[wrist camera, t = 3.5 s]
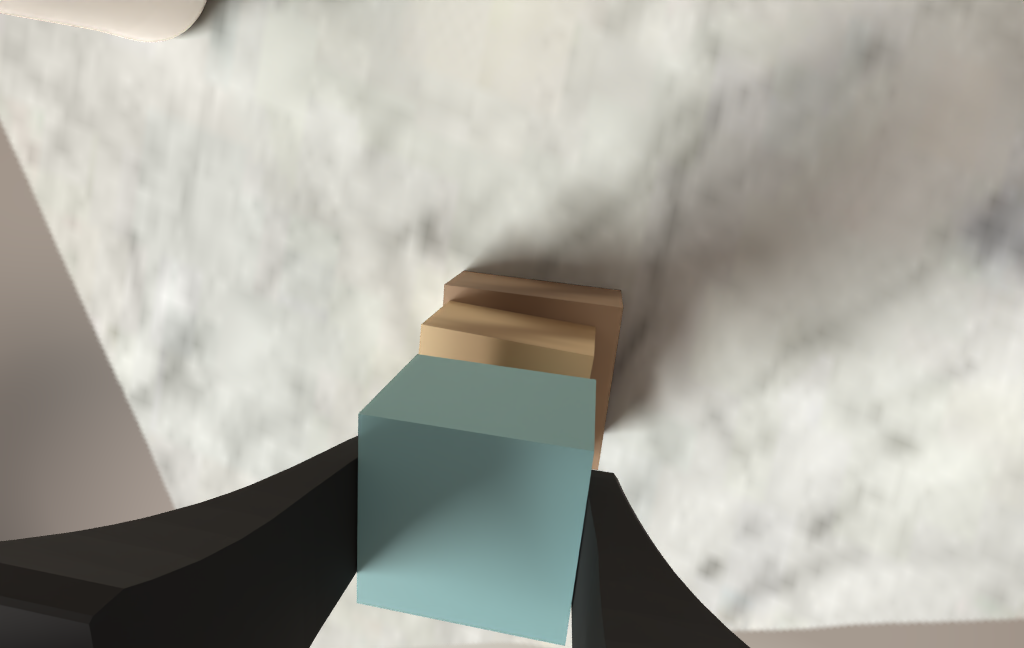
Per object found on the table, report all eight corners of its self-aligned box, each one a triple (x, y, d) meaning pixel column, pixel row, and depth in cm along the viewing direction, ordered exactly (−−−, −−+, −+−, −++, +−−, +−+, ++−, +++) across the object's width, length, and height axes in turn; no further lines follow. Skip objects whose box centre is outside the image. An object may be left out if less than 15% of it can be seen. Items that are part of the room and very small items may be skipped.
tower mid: (595, 327, 18) (594, 356, 15) (570, 459, 19) (564, 509, 17) (449, 300, 18) (421, 324, 16) (435, 431, 20) (407, 474, 17)
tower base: (620, 288, 20) (623, 307, 18) (598, 431, 22) (597, 469, 19) (465, 269, 21) (444, 284, 18) (456, 408, 23) (435, 442, 20)
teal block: (596, 379, 13) (594, 451, 10) (573, 535, 14) (564, 645, 11) (417, 354, 14) (358, 413, 10) (411, 506, 15) (356, 603, 12)
